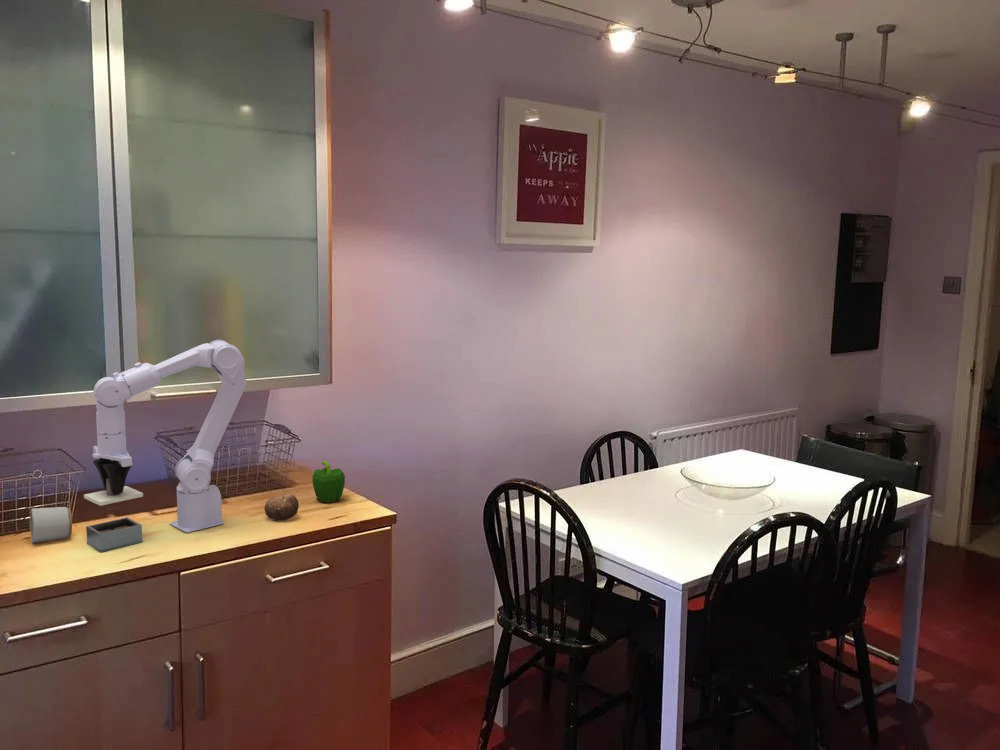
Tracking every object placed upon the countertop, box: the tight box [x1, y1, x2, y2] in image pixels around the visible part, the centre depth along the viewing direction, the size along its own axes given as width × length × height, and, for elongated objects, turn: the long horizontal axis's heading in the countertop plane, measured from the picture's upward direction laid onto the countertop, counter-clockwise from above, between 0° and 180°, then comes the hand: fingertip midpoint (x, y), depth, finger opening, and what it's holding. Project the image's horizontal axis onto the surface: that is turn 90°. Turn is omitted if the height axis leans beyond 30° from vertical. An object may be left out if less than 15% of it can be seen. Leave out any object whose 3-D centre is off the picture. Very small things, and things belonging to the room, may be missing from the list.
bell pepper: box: [312, 461, 346, 503], centre depth 217 cm, size 8×8×10 cm
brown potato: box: [264, 493, 300, 522], centre depth 203 cm, size 8×8×6 cm
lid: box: [83, 478, 144, 506], centre depth 185 cm, size 10×8×4 cm
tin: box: [85, 516, 143, 553], centre depth 183 cm, size 9×7×4 cm
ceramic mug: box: [29, 506, 73, 544], centre depth 185 cm, size 10×8×7 cm
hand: (113, 491), depth 185 cm, fingers closed on lid, 3 cm apart
